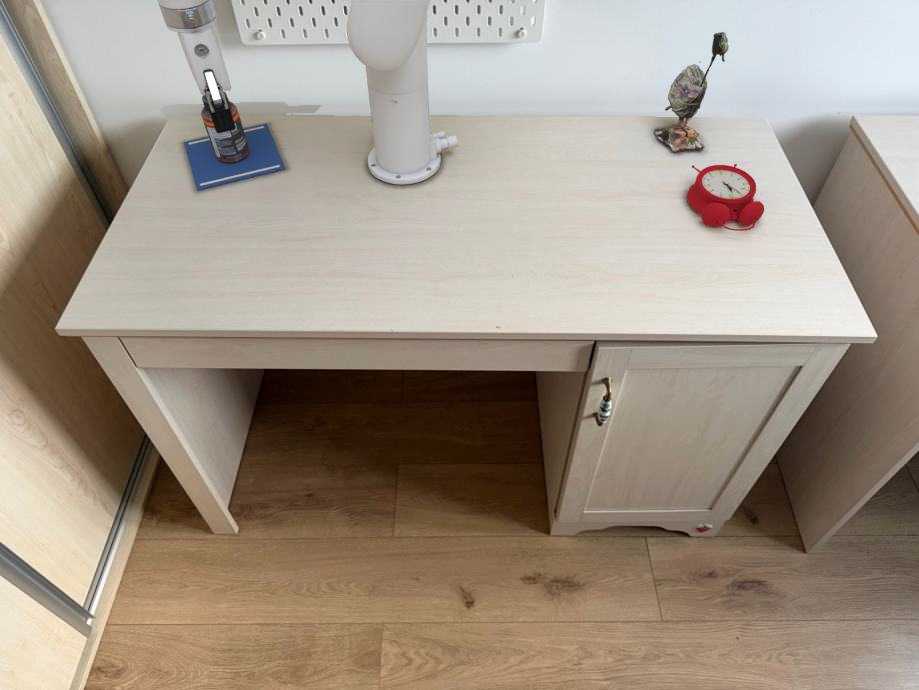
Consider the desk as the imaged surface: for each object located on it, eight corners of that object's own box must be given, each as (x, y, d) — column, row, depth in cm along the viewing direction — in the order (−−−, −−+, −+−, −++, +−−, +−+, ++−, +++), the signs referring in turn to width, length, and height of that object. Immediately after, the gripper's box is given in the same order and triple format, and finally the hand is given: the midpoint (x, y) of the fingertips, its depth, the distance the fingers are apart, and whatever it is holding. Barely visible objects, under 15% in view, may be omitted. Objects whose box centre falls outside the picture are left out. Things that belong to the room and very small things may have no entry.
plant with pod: (692, 119, 125) (724, 9, 110) (706, 155, 118) (742, 43, 103) (649, 119, 125) (674, 10, 110) (660, 155, 118) (689, 43, 103)
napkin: (266, 124, 125) (266, 123, 125) (285, 169, 116) (285, 167, 116) (184, 143, 122) (183, 141, 121) (197, 190, 113) (196, 189, 113)
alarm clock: (745, 159, 111) (784, 198, 99) (736, 194, 115) (773, 236, 103) (682, 161, 111) (714, 201, 99) (676, 196, 115) (706, 239, 103)
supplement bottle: (223, 143, 121) (203, 84, 112) (254, 146, 120) (238, 86, 112) (210, 163, 117) (189, 104, 109) (243, 165, 117) (225, 106, 108)
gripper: (224, 31, 96) (255, 142, 109) (204, -16, 106) (235, 90, 120) (170, 41, 94) (208, 153, 108) (155, -8, 104) (192, 99, 118)
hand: (222, 119), depth 113 cm, fingers closed on supplement bottle, 5 cm apart
